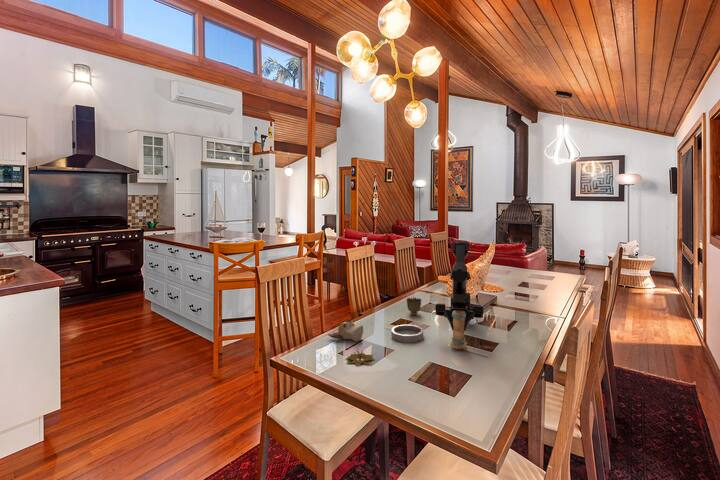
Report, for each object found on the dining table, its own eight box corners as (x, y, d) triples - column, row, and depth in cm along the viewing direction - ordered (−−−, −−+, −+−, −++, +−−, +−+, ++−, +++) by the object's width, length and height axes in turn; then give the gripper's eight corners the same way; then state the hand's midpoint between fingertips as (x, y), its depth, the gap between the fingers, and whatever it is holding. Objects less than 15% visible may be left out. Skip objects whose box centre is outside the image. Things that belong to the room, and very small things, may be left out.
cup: (420, 317, 192) (420, 301, 191) (406, 316, 193) (406, 301, 192) (421, 312, 199) (421, 297, 198) (407, 311, 201) (407, 297, 200)
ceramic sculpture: (356, 325, 156) (326, 322, 164) (357, 346, 157) (327, 341, 164) (368, 318, 165) (339, 315, 173) (370, 337, 166) (341, 333, 173)
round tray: (413, 329, 175) (413, 323, 174) (429, 339, 162) (429, 333, 162) (386, 333, 170) (386, 327, 170) (400, 344, 158) (400, 337, 157)
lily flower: (341, 367, 139) (340, 355, 139) (347, 353, 151) (347, 342, 151) (373, 369, 137) (373, 356, 137) (377, 355, 149) (377, 343, 149)
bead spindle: (460, 341, 157) (461, 308, 155) (470, 347, 151) (470, 313, 149) (447, 344, 155) (447, 310, 153) (456, 350, 149) (456, 315, 147)
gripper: (435, 284, 156) (433, 319, 147) (483, 286, 151) (484, 322, 142) (436, 297, 165) (434, 331, 155) (482, 300, 160) (483, 335, 151)
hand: (458, 330), depth 151 cm, fingers closed on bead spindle, 4 cm apart
